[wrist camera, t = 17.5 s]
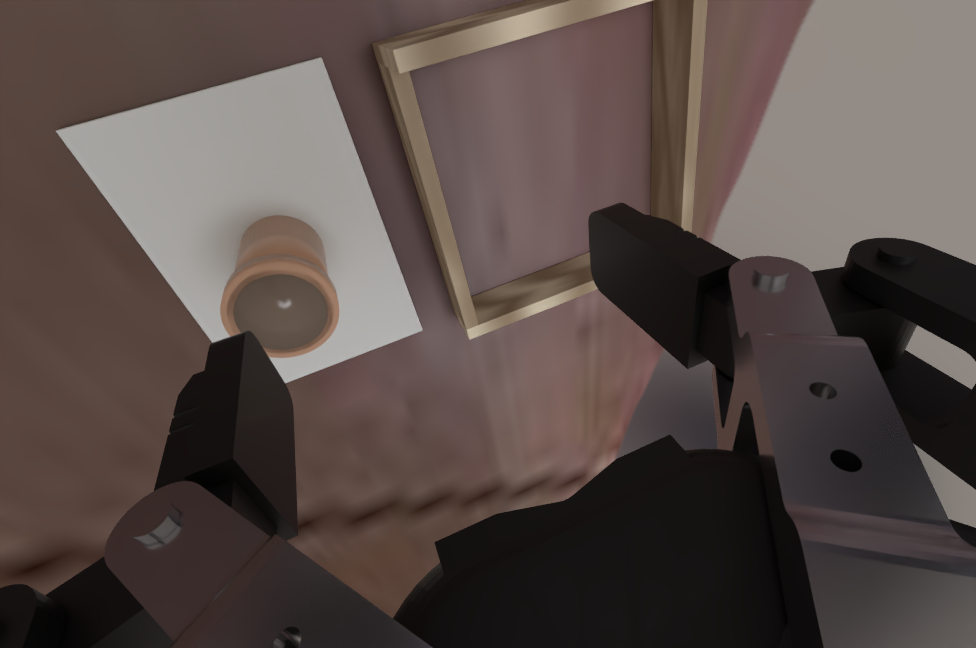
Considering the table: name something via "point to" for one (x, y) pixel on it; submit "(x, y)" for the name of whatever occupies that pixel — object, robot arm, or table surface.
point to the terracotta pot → (281, 288)
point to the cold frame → (543, 9)
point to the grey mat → (251, 197)
